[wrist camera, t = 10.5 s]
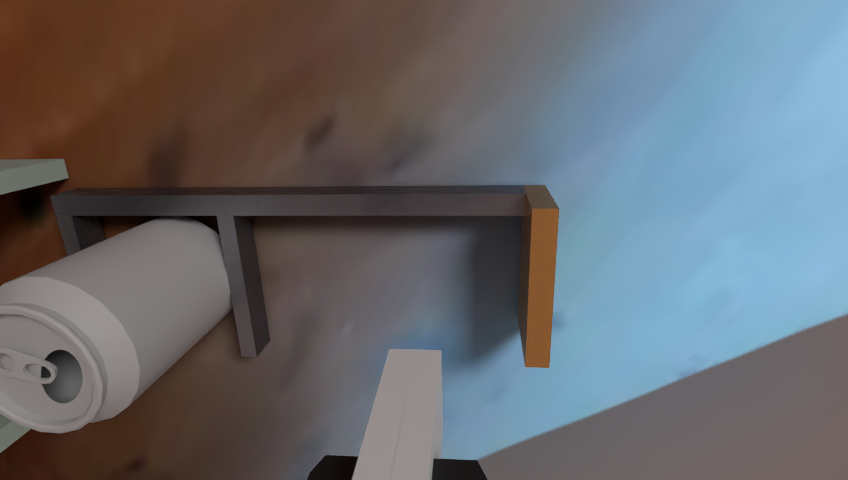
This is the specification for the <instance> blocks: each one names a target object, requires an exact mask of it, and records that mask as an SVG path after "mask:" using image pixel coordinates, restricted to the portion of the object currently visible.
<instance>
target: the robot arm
mask: <svg viewBox="0 0 848 480" xmlns="http://www.w3.org/2000/svg"><path fill="white" fill-rule="evenodd" d="M442 432H443V413H442V364H441V350H410V349H389V353H388V356H387V359H386V363H385V366H384V370H383V373H382V377H381V380H380V384H379V387H378V391H377V394H376V398H375V401H374V405H373V408H372V412H371V415H370V418H369V422H368V425H367V429H366V432H365V436H364V439H363V443H362V446H361V450H360V453H359V457H354V456H331V455H326V456H325V457H324V458H323V459H322V460H321V461H320V462H319V463H318V464H317V465H316V466H315V468H314V469H313V470H312V471H311V472H310V474H309V476H308V479H307V480H487V478H486V476H485V474H484V472H483V471H482V469H481V467H480V465H479V463H478V461H477V460H455V459H441V446H442Z"/></svg>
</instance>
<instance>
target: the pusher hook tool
mask: <svg viewBox="0 0 848 480" xmlns="http://www.w3.org/2000/svg"><path fill="white" fill-rule="evenodd" d="M50 198H51V201H52V204H53V208H54V211H55V215H56V218H57V222H58V225H59V228H60V232H61V235H62V239H63V242H64V245H65V249H66V252H67V256H69V255H72V254H74V253H76V252H79V251H81V250H83V249H86V248H88V247H90V246H92V245H95V244H97V243H99V242H102V241H104V240H105V236H104V232H103V228H102V224H101V220H100V217H99V216H217V222H218V227H219V233H220V238H221V244H222V249H223V255H224V261H225V266H226V272H227V277H228V283H229V289H230V294H231V300H232V305H233V311H234V316H235V322H236V328H237V333H238V339H239V344H240V350H241V355H242V357H257V356H258V355H259V354H260V352H261V351H262V350H263V349H264V347H265V346H266V345H267V344H268V342H269V341H270V336H269V330H268V323H267V317H266V310H265V304H264V297H263V291H262V285H261V278H260V272H259V265H258V259H257V252H256V246H255V239H254V233H253V226H252V220H251V216H522V224H521V252H520V280H519V307H518V323H519V329H520V336H521V342H522V349H523V355H524V362H525V367H541V368H549V363H550V347H551V331H552V315H553V299H554V283H555V267H556V251H557V234H558V218H559V208H558V206H557V204H556V203H555V201H554V199H553V198H552V196H551V194H550V193H549V191H548V189H547V188H546V186H545V185H492V186H349V187H205V188H77V189H73V190H70V191H66V192H62V193H59V194H55V195H51V196H50Z"/></svg>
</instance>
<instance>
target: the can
mask: <svg viewBox="0 0 848 480" xmlns="http://www.w3.org/2000/svg"><path fill="white" fill-rule="evenodd" d="M232 308H233V305H232V300H231V294H230V289H229V283H228V277H227V272H226V266H225V261H224V255H223V249H222V244H221V238H220V236H219V234H218V233H217V232H215V231H213V230H212V229H210V228H209V227H207V226H206V225H204V224H203V223H201V222H199V221H196V220H193V219H190V218H187V217H184V216H162V217H159V218H156V219H154V220H151V221H148V222H146V223H143V224H141V225H139V226H136V227H134V228H132V229H129V230H127V231H125V232H123V233H120V234H118V235H116V236H113V237H111V238H109V239H106V240H104V241H102V242H99V243H97V244H95V245H92V246H90V247H88V248H86V249H83V250H81V251H79V252H76V253H74V254H72V255H69V256H67V257H65V258H62V259H60V260H58V261H55V262H53V263H51V264H48V265H46V266H44V267H42V268H39V269H37V270H35V271H32V272H30V273H28V274H25V275H23V276H21V277H18V278H16V279H14V280H11V281H9V282H7V283H5V284H3V285H2V286H1V287H0V414H2V415H3V416H5V417H7V418H8V419H10V420H12V421H14V422H15V423H17V424H19V425H21V426H24V427H27V428H30V429H33V430H36V431H39V432H50V433H66V432H70V431H74V430H78V429H81V428H82V427H83V426H85V425H86V424H87V423H89V422H90V423H94V422H97V421H101V420H105V419H109V418H113V417H115V416H116V415H117V414H119V413H120V412H121V411H123V410H124V409H126V408H127V407H128V406H129V405H130V404H132V403H133V402H134V401H135V400H136V399H137V398H138V397H139V396H140V395H141V394H142V393H143V392H144V391H145V390H147V389H148V388H149V387H150V386H151V385H152V384H153V383H154V382H155V381H156V380H157V379H158V378H159V377H160V376H162V375H163V374H164V373H165V372H166V371H167V370H168V369H169V368H170V367H171V366H172V365H173V364H174V363H176V362H177V361H178V360H179V359H180V358H181V357H182V356H183V355H184V354H185V353H186V352H187V351H188V350H189V349H191V348H192V347H193V346H194V345H195V344H196V343H197V342H198V341H199V340H200V339H201V338H202V337H203V336H204V335H206V334H207V333H208V332H209V331H210V330H211V329H212V328H213V327H214V326H215V325H216V324H217V323H218V322H219V321H221V320H222V319H223V318H224V317H225V316H226V315H227V314H228V313H229V312H230V311H231V310H232Z"/></svg>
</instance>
